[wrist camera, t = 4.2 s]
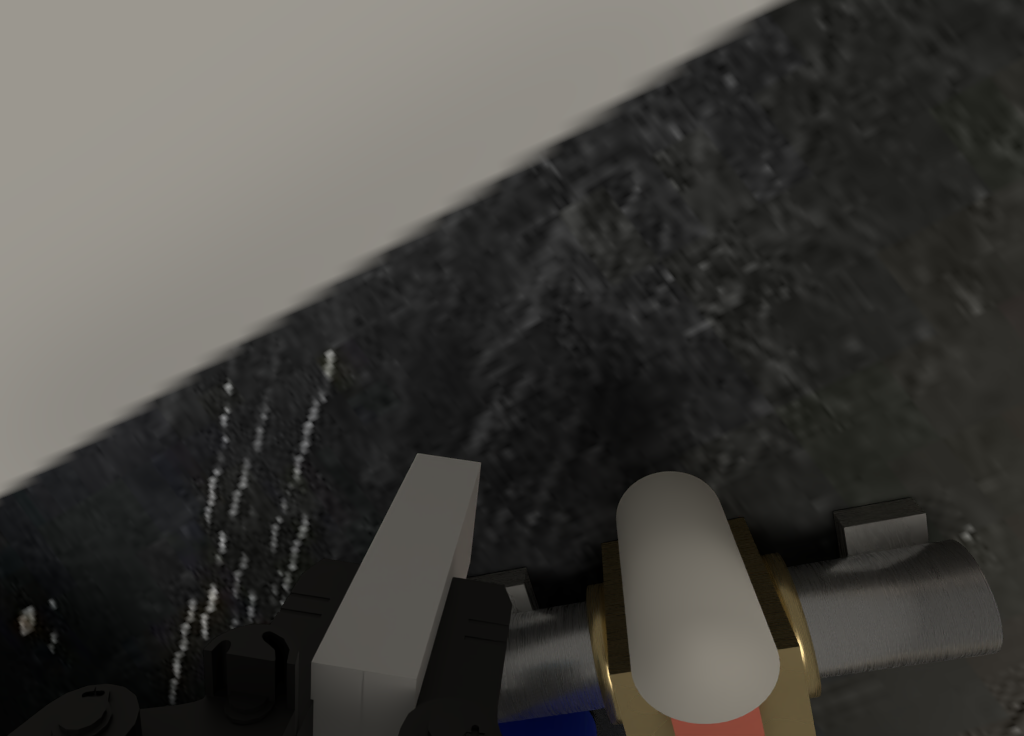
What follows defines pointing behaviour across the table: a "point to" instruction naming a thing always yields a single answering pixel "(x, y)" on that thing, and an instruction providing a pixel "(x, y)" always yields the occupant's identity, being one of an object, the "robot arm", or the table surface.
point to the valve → (789, 615)
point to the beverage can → (552, 726)
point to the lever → (692, 610)
